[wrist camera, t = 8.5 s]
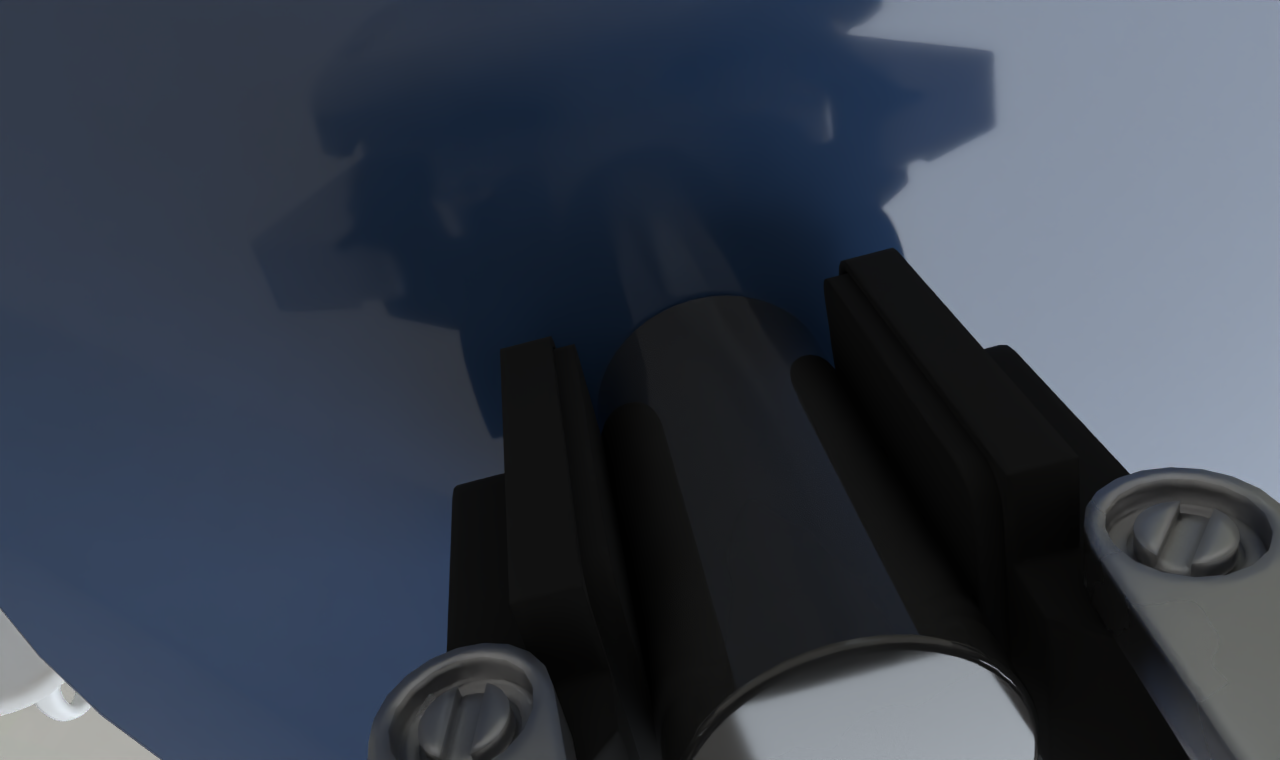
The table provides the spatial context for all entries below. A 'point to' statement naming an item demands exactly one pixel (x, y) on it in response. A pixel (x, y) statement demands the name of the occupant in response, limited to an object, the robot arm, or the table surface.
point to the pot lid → (589, 330)
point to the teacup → (31, 679)
